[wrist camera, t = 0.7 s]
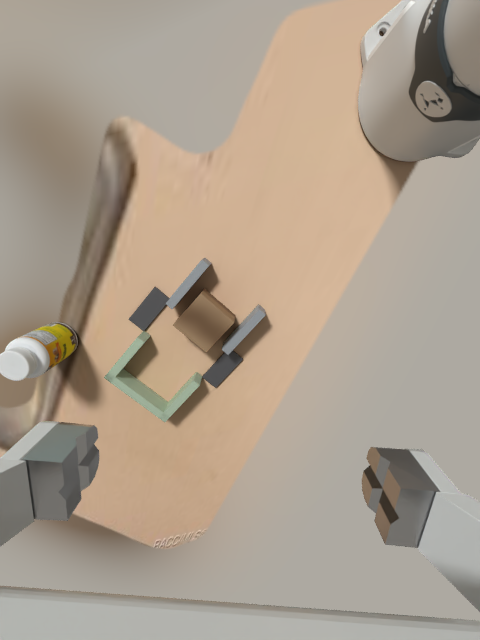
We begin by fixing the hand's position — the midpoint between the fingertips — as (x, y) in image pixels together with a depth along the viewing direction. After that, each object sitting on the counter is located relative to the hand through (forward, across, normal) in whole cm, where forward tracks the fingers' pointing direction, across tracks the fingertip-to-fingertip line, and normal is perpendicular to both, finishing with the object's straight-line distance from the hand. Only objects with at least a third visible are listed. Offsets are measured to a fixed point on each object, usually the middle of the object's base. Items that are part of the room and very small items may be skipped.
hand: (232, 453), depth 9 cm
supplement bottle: (+36, +27, +11) cm, 46 cm away
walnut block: (+36, +5, +6) cm, 37 cm away
